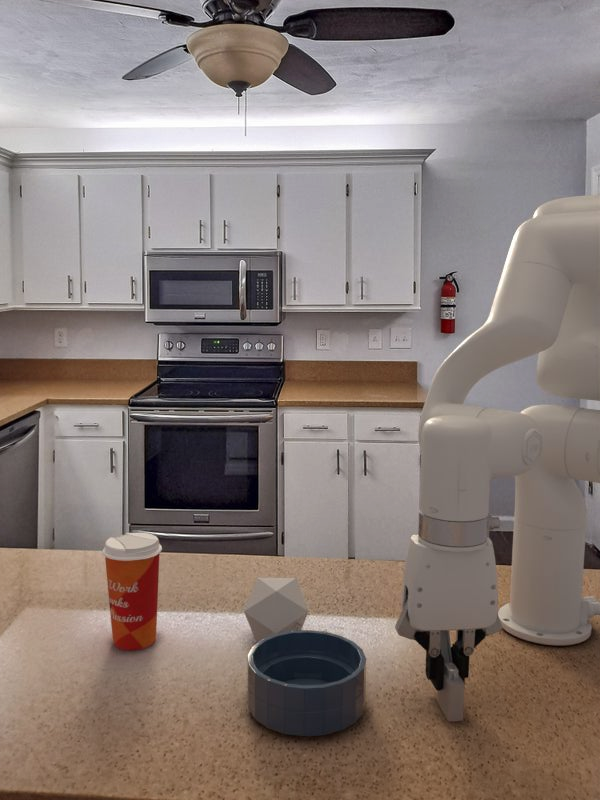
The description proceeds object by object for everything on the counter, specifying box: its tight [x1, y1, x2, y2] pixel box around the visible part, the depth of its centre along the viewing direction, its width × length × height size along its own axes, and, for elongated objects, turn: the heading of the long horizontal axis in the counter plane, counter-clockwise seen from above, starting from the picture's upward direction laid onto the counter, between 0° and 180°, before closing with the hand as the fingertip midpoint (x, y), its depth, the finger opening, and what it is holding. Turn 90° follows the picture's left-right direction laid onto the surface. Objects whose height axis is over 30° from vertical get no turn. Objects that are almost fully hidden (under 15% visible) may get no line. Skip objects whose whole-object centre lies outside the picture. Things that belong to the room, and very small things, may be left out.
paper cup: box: [101, 532, 163, 651], centre depth 97 cm, size 8×8×14 cm
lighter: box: [436, 630, 465, 722], centre depth 83 cm, size 7×2×8 cm, turn 7°
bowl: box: [247, 629, 367, 737], centre depth 83 cm, size 13×13×6 cm
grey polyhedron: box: [243, 577, 309, 644], centre depth 99 cm, size 8×9×10 cm
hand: (446, 682), depth 84 cm, fingers closed on lighter, 2 cm apart
